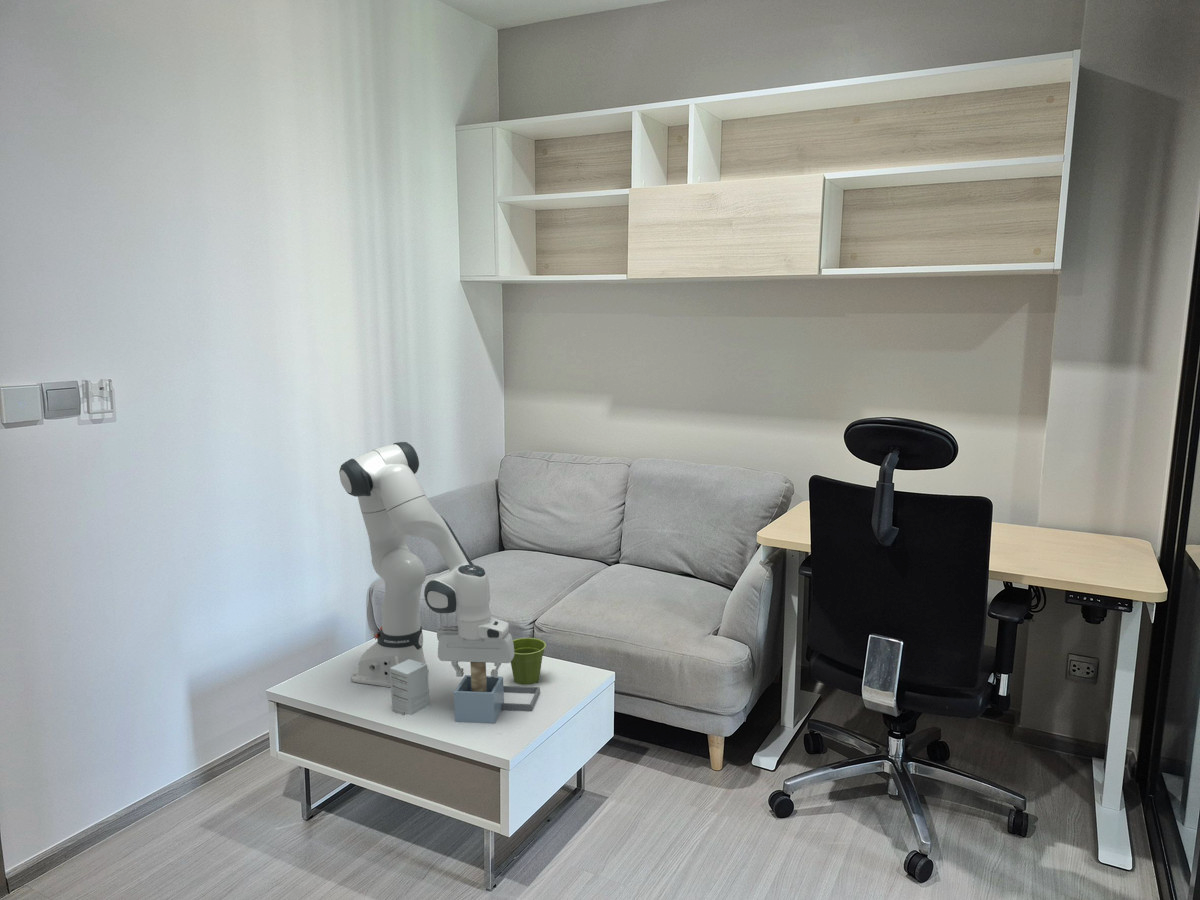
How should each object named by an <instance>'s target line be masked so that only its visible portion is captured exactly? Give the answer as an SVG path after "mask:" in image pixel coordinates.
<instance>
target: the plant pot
mask: <svg viewBox="0 0 1200 900" xmlns="http://www.w3.org/2000/svg"><path fill="white" fill-rule="evenodd" d="M513 644H514V658H513V660H512V661H511V662H510V666H511V670H512V676H513V680H514V683H516V684H518V685H521V686H523V685H524V686H526V685H527V686H528V685H534V684H537V683H539V681H540V678H541V677H540V676H541V670H542V669H541V668H542V661H543V656H544V652H545V649H546V648H547V643H546V641H544V640H542V639H539V638H534V637H520V638H515V639H513Z"/></svg>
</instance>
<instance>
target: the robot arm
mask: <svg viewBox="0 0 1200 900" xmlns="http://www.w3.org/2000/svg"><path fill="white" fill-rule="evenodd" d="M419 467H420V460H419V455H418V453H417V451H416V450H415V447H414V446H413V445H411V444H410V443H409V442H407V441H399V442H398V441H397V442H394V443H393V444H389V445H384V446H380V447H377V448H374V449H372V450H370V451H367V452H366V453H365V452H364V453H363V454H361V455H359V456H357V457H354V458H350V459H348V460H346V461H345V462H343V463H342V464H341V465H340V467H339V480H340V483H341V485H342V487H343V489H344V490H345V492H346V493H347V494H348V495H350V496H353V497H357V500H358V504H359V509H360V513H361V514H362V519H363V522H364V525H365V529H366V532H367V536H368V541H369V548H370V549H369V550H370V556H371V564H372V567H373V570H374V572H375V573H376V575H378V577H380V578H381V579H382V580H383V582H384V595H383V596H384V597H383V601H382V603H381V607H380V609H381V611H380V612H381V623H382V624H381V625H382V626H380V627H379V630H378V631H377V632H376V634H375V635H374V637H375V638H374V640H375V641H376V640H377V641H376V642H375V643H374V644H372V645H371V646H370V647H369V648H367V649H366V650H365V651H364V652H363V653H362V654H361V656H360V658H359V662H358V666H357V667H355V669H354V670H353V671H352V673H351V675H350V681H351V682H353V683H358V684H367V685H372V686H379V687H380V686H381V687H387V688H391V682H390V668H391V667H393V666H395V665H397V664H400V663H402V662H404V661H406V660H408V659H411V660H414V661H417V662H421V663H424V664H427V663H426V659H425V654H424V649H423V646H424V635H423V627H422V625H421V612H420V608H421V605H420V604H421V603H420V600H421V595H422V594H421V593H422V587H423V584H424V583H425V581H426V577H427V570H426V567H425V565H424V563H423V561H422V560H421V559H420V557H418V555H416V554H414V553H413V552H411V550H410V549H409V546H408V542H407V537H411V538H419V539H424V540H427V541H429V542H431V543H432V545H433V544H434V546H435V547H436V548H437V550H438V552H439V553H440V555H441V557H442V559H443V561H444V562H445V564H446V566H447V567H448V570H449V572H446V573H443V574H441V575H439V576H436V577H434V578H433V579H431V580H430V581H428V582H427V583H426V585H425V586H424V592H423V593H424V595H423V596H424V600H425V603H426V606H427V607H428V608H429V609H430V610H431V611H432V612H434V613H436V614H453V613H454V614H455V615H456V622H457V623H456V624H457V625H456V626H454V625H451V626H449V625H442V626H441V627H439V628H438V629H437V631H436V637H437V641H438V643H437V645H438V646H437V658H438V659H439V661H441V662H451V667H452V668H453V669H454V670H455V674H456V675H455V676H456V677H458V678H459V677H460V678H461V677H463V676H464V667H461V666H460V665H459V662H461V663H462V662H463V663H465V662H466V663H470V662H486V664H487V663H490V664H491V663H492V664H494V665H493V666H494V667H495V668H494V669H492V670H491V671H490V676H491V678H497V677H498V676H499V671H498V670H499V668H500V666H501V665H502V664H511V661H512V660H513V658H514V644H513V640H514V639H513V636H512V634H511V633H510V632H509V630H510V623H509V622H508V621H504V620H502V619H499V618H496V617H493V616H492V613H491V609H490V601H491V591H490V583H489V577H488V575H487V572H486V570H485V569H484V568H483V567H481V566H479V565H475V564H474V563H473V562H472V560H471V559H470V558H469V557H468V555H467V553H466V551H465V550H464V548H463V546H462V545H461V543H460V541H459V539H458V537H457V536H456V534H455V533H454V531H453V529H452V528H451V526H450V525H449V523H448V521H447V520H446V519H445V518H444V517H443V516H442V515H440V514H439V513H438V512H437V511H436V510H435V508H434V507H433V506H432V504H431V503H430V501H429V499H428V497H427V495H426V493H425V490H424V488H423V486H422V485H421V482H420V481H419V480H418V477H417V476H416V475H415V474H417V472H418V470H419ZM427 671H428V672H429V668H428V667H427Z"/></svg>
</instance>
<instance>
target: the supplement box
mask: <svg viewBox="0 0 1200 900" xmlns="http://www.w3.org/2000/svg"><path fill="white" fill-rule="evenodd" d="M427 668H428V664H427V663H426V664H424V663H421V662H417V661H414V660H411V659H408V660H406V661H404V662H402V663H400V664H397V665H395V666H393V667H391V668H390V682H391V687H390V693H391V694H390V695H391V696H390V697H391V707H392V709H391V710H392V712H394V713H396V714H400V715H402V716H406V715H409V716H412V715H413V714H416V713H418V712H420V711H421V710H423V709H426V708H427V707H429V706H430V693H429V692H430V690H429V689H430V688H429V675H428V674H429V670H428V671H427Z"/></svg>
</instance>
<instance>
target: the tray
mask: <svg viewBox="0 0 1200 900" xmlns="http://www.w3.org/2000/svg"><path fill="white" fill-rule="evenodd" d="M505 693H507V694H508V693H511V694H529V695H530V694H531V695H532V694H533V697H532V699H531V700H530V703H512V702H511V703H510V702H504V703H502V710H501V711H514V712H515V711H519V712H533V709H534V708H535V705H536V704H537V701H538V698H539V696H540V694H541V687H540V686H526V685H524V686H523V685H521V686H520V685H519V686H518V685H504V694H505Z"/></svg>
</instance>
